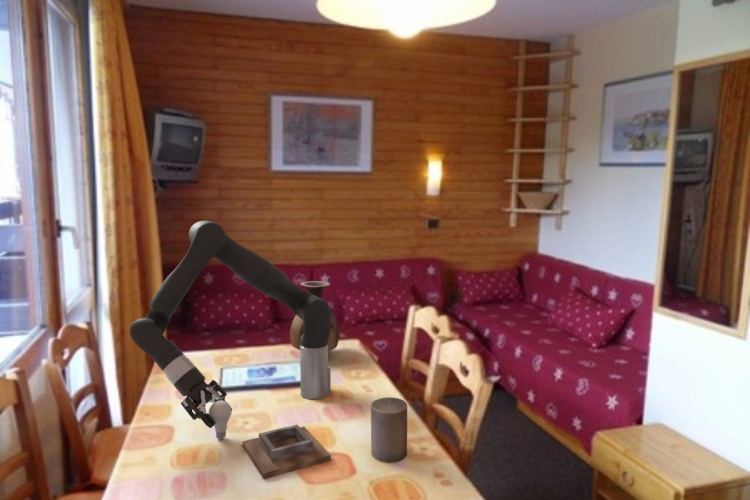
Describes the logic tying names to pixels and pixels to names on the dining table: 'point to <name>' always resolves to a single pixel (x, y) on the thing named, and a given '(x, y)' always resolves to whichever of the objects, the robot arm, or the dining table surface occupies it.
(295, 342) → the vase
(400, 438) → the pillar candle
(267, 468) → the bulb socket
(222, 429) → the lightbulb
